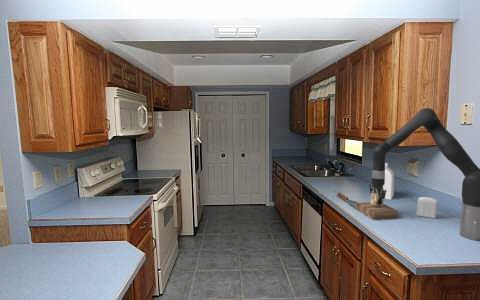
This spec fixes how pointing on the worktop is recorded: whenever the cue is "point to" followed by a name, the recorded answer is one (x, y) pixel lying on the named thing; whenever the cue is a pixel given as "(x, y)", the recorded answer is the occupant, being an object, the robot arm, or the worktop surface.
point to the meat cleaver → (347, 200)
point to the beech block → (375, 199)
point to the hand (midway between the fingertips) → (376, 203)
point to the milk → (389, 182)
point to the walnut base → (377, 211)
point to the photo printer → (426, 207)
